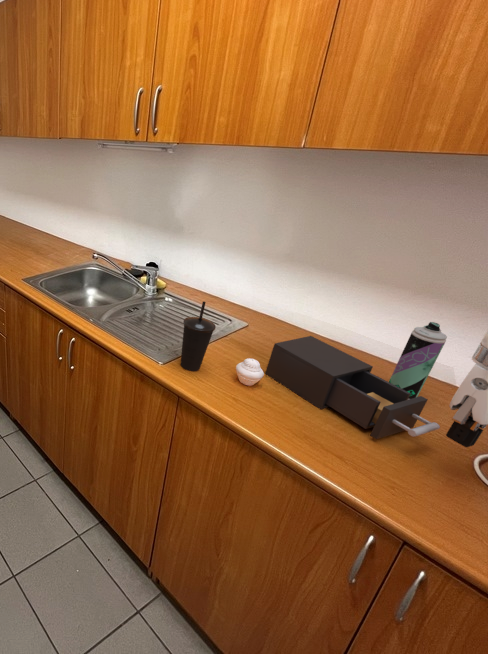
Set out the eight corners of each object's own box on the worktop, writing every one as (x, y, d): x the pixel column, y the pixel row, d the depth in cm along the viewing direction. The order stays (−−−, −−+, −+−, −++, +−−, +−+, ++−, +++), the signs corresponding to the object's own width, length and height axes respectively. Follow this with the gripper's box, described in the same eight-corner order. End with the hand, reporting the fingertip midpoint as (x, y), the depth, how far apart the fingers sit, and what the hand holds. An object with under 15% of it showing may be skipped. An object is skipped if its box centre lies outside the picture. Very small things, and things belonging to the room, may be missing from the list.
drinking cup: (175, 371, 108) (189, 306, 100) (174, 356, 114) (186, 294, 106) (207, 377, 105) (223, 310, 97) (203, 361, 112) (218, 297, 104)
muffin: (227, 376, 105) (233, 354, 103) (247, 373, 106) (253, 351, 104) (245, 391, 100) (252, 368, 97) (266, 387, 101) (273, 364, 98)
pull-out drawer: (437, 441, 83) (454, 412, 80) (400, 454, 80) (415, 424, 77) (346, 389, 98) (357, 363, 95) (312, 398, 95) (322, 372, 92)
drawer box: (358, 399, 96) (373, 366, 93) (320, 409, 93) (333, 376, 90) (300, 365, 109) (310, 335, 106) (264, 373, 106) (274, 343, 102)
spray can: (385, 384, 101) (417, 315, 94) (415, 393, 98) (451, 323, 90) (385, 394, 98) (418, 323, 90) (416, 404, 94) (453, 332, 87)
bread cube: (392, 419, 87) (399, 406, 86) (376, 425, 86) (383, 411, 84) (366, 405, 92) (372, 392, 90) (351, 409, 90) (357, 396, 89)
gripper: (513, 381, 63) (459, 466, 70) (568, 365, 66) (511, 447, 74) (451, 355, 69) (408, 435, 77) (504, 342, 73) (458, 419, 80)
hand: (459, 440), depth 75 cm, fingers closed
